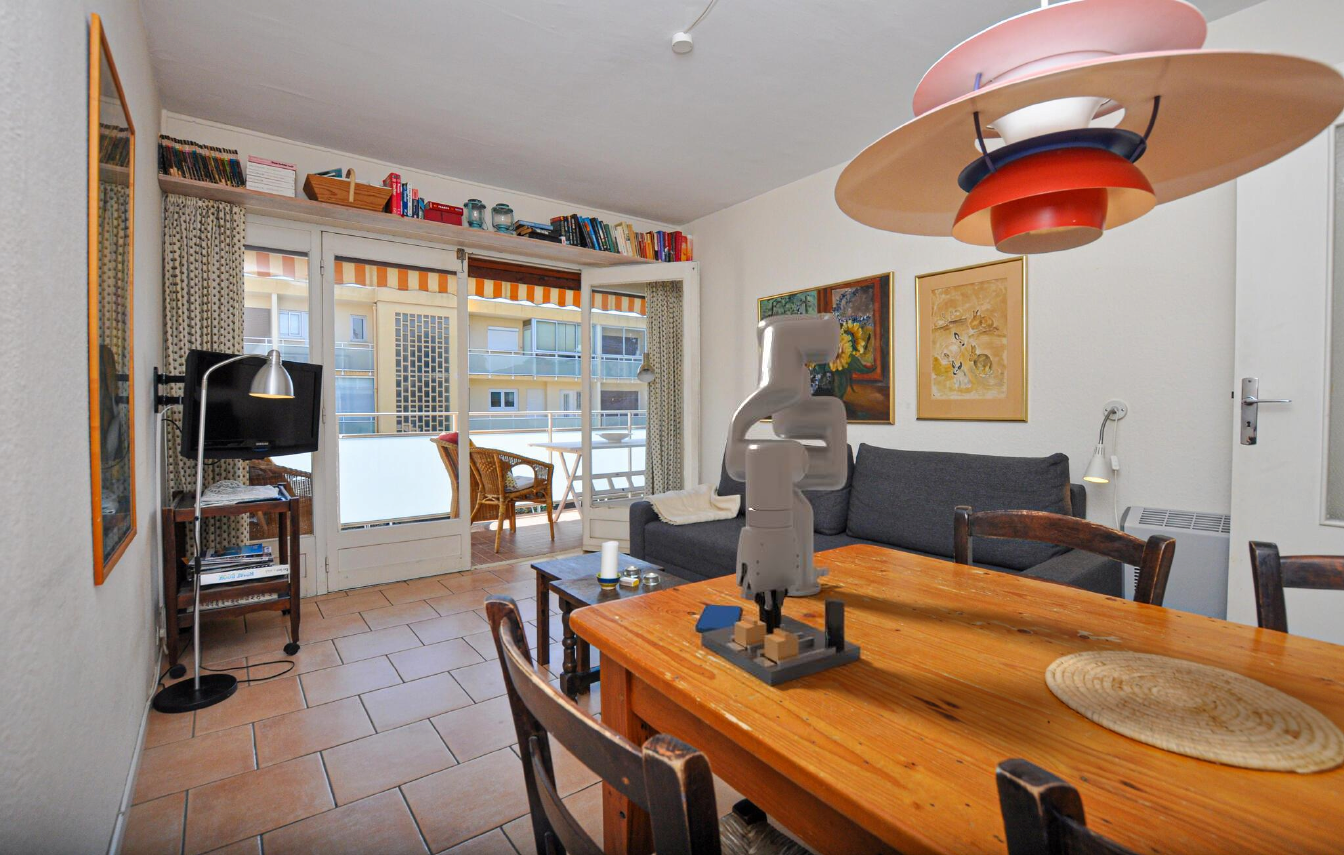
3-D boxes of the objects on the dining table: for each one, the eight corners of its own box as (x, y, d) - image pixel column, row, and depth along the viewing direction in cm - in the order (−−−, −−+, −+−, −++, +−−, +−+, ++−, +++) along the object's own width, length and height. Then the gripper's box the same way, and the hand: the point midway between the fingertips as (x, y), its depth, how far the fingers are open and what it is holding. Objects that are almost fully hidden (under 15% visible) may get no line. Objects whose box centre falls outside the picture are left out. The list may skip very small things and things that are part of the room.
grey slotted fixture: (780, 623, 110) (780, 575, 110) (860, 659, 94) (860, 602, 94) (698, 643, 101) (697, 590, 101) (771, 686, 85) (770, 623, 85)
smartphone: (742, 606, 120) (735, 630, 105) (742, 611, 120) (735, 636, 105) (706, 604, 121) (694, 628, 107) (706, 609, 121) (694, 633, 107)
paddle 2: (785, 650, 92) (784, 625, 92) (798, 656, 90) (798, 631, 89) (764, 655, 90) (764, 630, 90) (777, 662, 88) (777, 636, 87)
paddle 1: (754, 636, 98) (754, 613, 98) (766, 642, 95) (766, 618, 95) (734, 641, 96) (734, 617, 96) (746, 647, 93) (746, 623, 93)
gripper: (788, 511, 104) (789, 616, 105) (717, 519, 97) (718, 632, 97) (819, 517, 98) (820, 629, 98) (746, 526, 90) (747, 647, 90)
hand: (769, 630), depth 98 cm, fingers closed
